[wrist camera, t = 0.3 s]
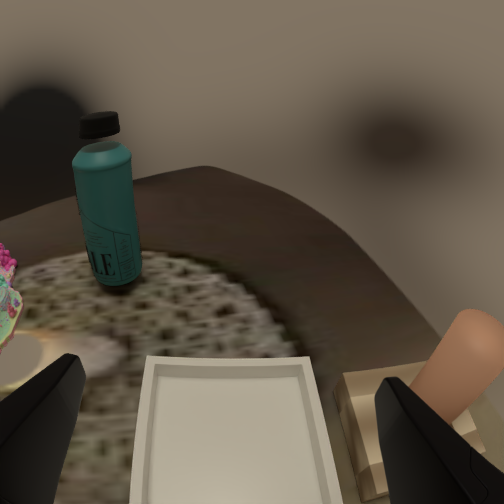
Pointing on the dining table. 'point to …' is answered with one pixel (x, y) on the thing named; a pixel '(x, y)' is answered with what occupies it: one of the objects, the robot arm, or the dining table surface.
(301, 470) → the tray
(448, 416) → the dowel
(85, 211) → the beverage bottle
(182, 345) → the dining table surface
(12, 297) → the candy landscape model
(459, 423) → the holder
